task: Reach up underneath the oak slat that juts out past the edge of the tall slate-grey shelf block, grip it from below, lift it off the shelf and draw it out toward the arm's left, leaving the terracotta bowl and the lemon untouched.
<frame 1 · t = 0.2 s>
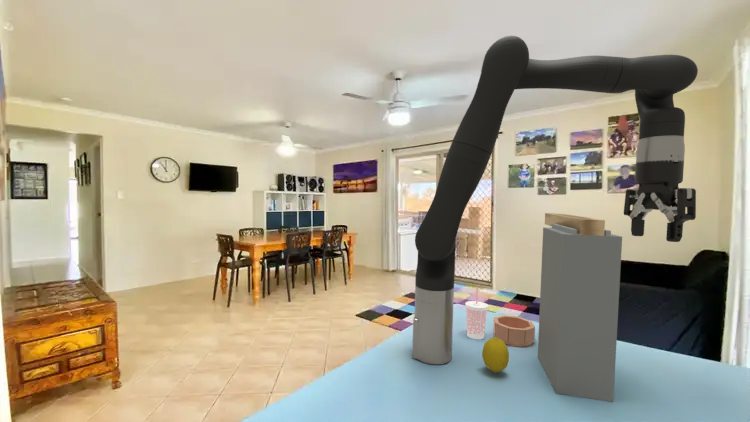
hand: (654, 238, 68), 31 cm above the table, tool pointing down, fingers open, 8 cm apart
slat: (569, 229, 75), point 32 cm above the table, touching shelf block
beverage cup: (475, 336, 92), on the table
lemon: (494, 373, 73), on the table
shelf block: (570, 377, 71), on the table
bowl: (512, 338, 90), on the table
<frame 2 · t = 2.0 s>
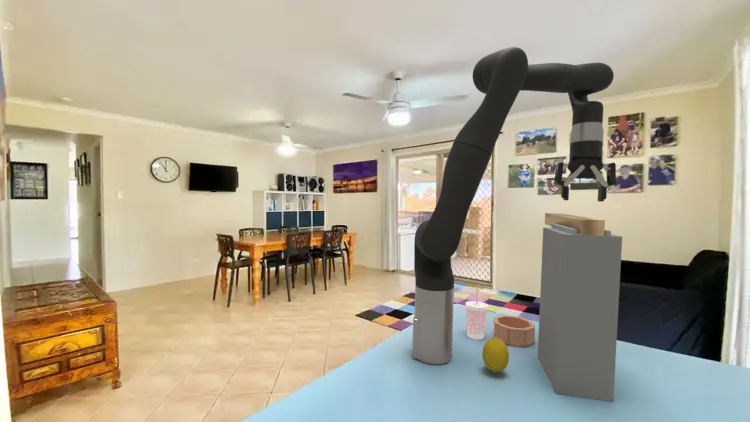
hand: (583, 200, 90), 39 cm above the table, tool pointing down, fingers open, 8 cm apart
nothing on the table moved.
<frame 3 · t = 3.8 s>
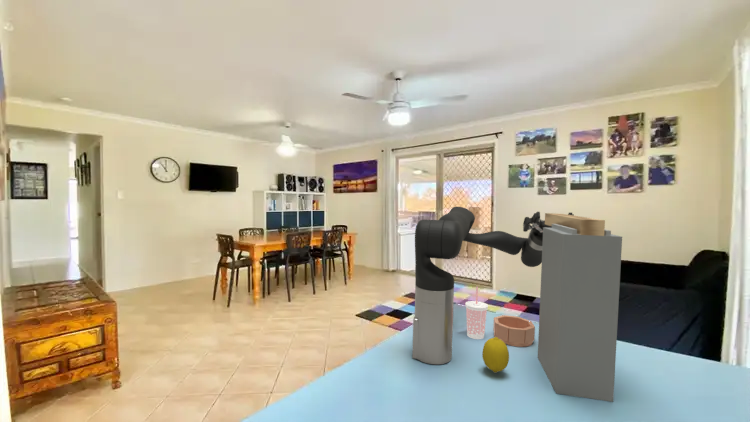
hand: (554, 214, 95), 34 cm above the table, tool pointing upward, fingers open, 8 cm apart
nothing on the table moved.
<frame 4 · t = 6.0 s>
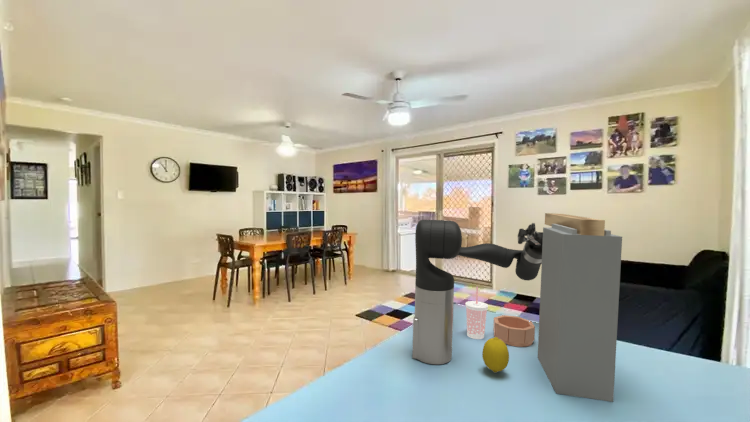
hand: (550, 226, 89), 31 cm above the table, tool pointing upward, fingers open, 8 cm apart
nothing on the table moved.
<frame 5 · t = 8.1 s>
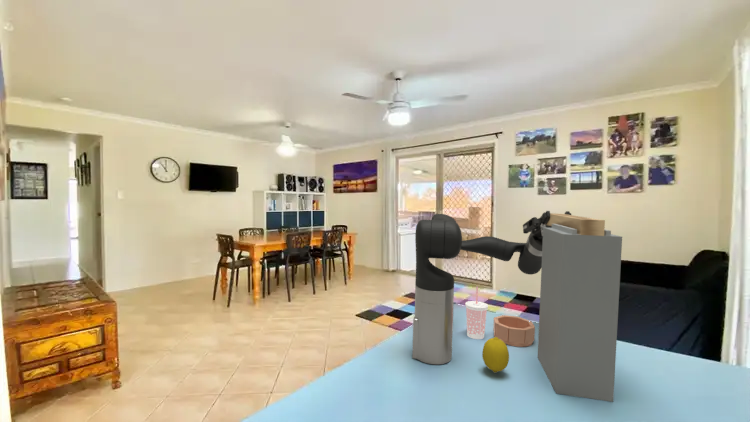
hand: (558, 214, 83), 35 cm above the table, tool pointing upward, fingers closed on slat, 4 cm apart
slat: (569, 229, 75), point 32 cm above the table, touching gripper, shelf block
everything else where it was.
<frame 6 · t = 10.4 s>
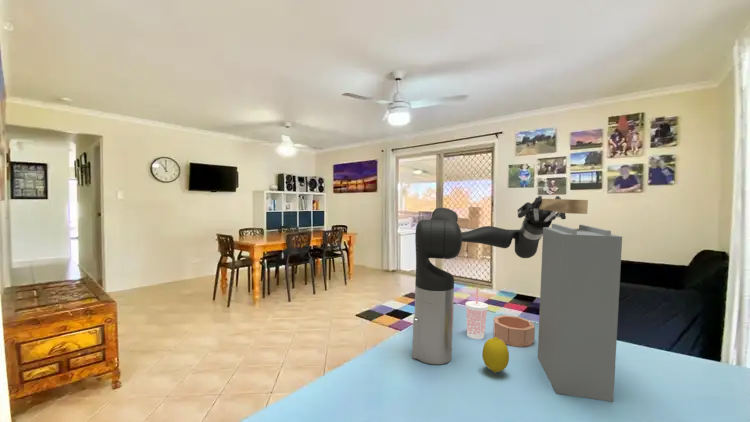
hand: (549, 199, 92), 39 cm above the table, tool pointing upward, fingers closed on slat, 4 cm apart
slat: (558, 210, 83), point 36 cm above the table, touching gripper
everything else where it was.
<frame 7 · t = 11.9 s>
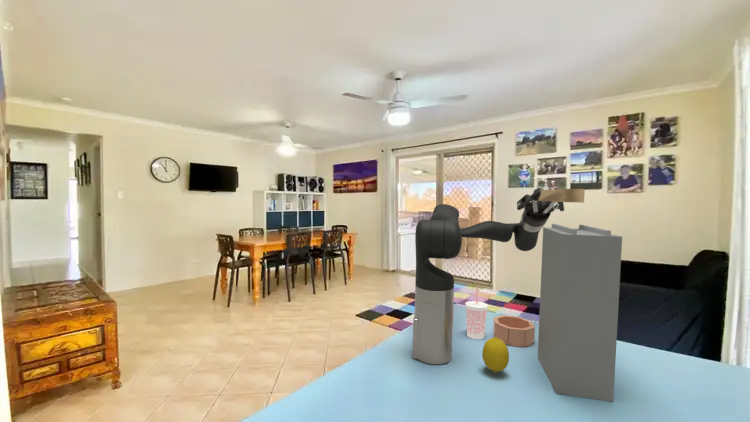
hand: (548, 190, 93), 41 cm above the table, tool pointing upward, fingers closed on slat, 4 cm apart
slat: (556, 201, 85), point 38 cm above the table, touching gripper
everything else where it was.
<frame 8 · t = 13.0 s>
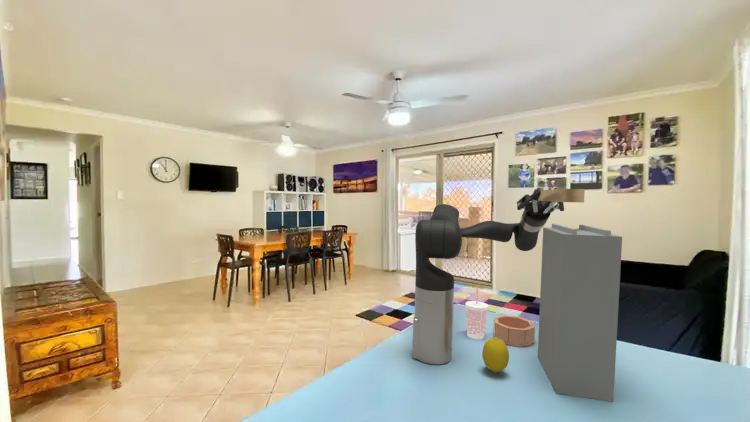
hand: (548, 190, 93), 41 cm above the table, tool pointing upward, fingers closed on slat, 4 cm apart
slat: (556, 201, 85), point 38 cm above the table, touching gripper
everything else where it was.
at the end: the gripper is holding slat; slat moved 12.3 cm from its start; slat point 38.2 cm above the table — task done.
